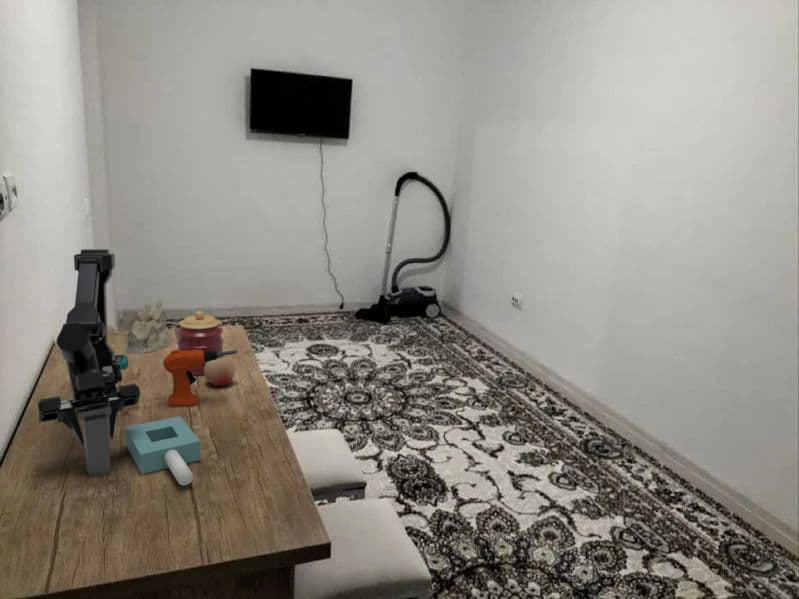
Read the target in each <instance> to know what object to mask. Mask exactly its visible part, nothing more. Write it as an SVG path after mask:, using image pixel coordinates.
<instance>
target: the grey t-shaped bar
mask: <svg viewBox="0 0 799 599" xmlns="http://www.w3.org/2000/svg"><path fill="white" fill-rule="evenodd" d="M108 415H111V406H110V404H107V405H102V406H96V407H91V408H88V407H84V408H79V409H76V416H77V419H78V421H82V431H83V432H82V435H83V441H84V444H83V446H84V457H85V458H84V459H85V468H86V471H87V473H88V476H89V477H93V476H94V477H95V476H98V475H102V474H106V473H111V472H112V467H111V452H110V451H111V450H110V440H109V437H110V434H109V426H108Z"/></svg>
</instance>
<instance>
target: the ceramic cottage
mask: <svg viewBox="0 0 799 599" xmlns="http://www.w3.org/2000/svg"><path fill="white" fill-rule="evenodd" d="M143 309H144V310H141V311H139V312H136V313H135V315H134V316H133V319H131V321H130V322H129V323H128V328H129V330H128V334H127V335H126V338H127V339H126V341H125V343H124V344H125V345H124V347H123V350H124V352H126V351H127V352H126V353H131V354H134V353H137V354H136V355H142V354H141V353H143V354H145V352H146V353H151V351H152V352H155V350H157V351H160V350H163V349H164V348H167V347H168V346H170V345H171V344H170V343H171V339H170V336H169V328H168V326H167V319H168V315H167V313H166V312H165V310H164V308H163V300H161V299H158V300H157V302H156V303H155V306H153V305H152V304H151V303H149V302H147V303H146V302H145V304H144V308H143ZM169 344H170V345H169ZM167 345H168V346H167ZM166 346H167V347H166ZM162 348H163V349H162ZM159 349H160V350H159Z"/></svg>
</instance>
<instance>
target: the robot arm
mask: <svg viewBox="0 0 799 599" xmlns="http://www.w3.org/2000/svg"><path fill="white" fill-rule="evenodd" d="M73 262H74V263H73V266H74V271H77V273H78V274H77V283H76V291H75V301H74V306H73V308H72V309H71V310H69V311H68V313H67V314H66V320H65V323H63V325H62V327H61V329H60V332H59V334H58V335H57V337H56V343H57V346H58V349H59V351H60V352H61V354H62V357H63V359H64V360H65V361H66V365H67V371H68V377H69V382H70V387H71V388H70V389H71V392H72V393H71V394H72V398H73V399H68V400H67V399H66V400H62V399H61V397H60V396H58V395H57V396H52V397H45V398H42V399H39V401H38V402H37V410H36V411H37V419H38V422H39V423H45V422H50V421H56V420H57V423H60V424H61V423H63V424H64V425H65V426H66V427H67V428H68V429H69V430H70V431H71V432H72V433H73V435H74V437H75V438H76V440H77V441H78V442H79V444H80V445H81V446H84V435H83V432H82V429H81V426H80V423H79V420H78V418H77V410H79V409H85V408H91V407H96V406H102V405H107V404H110V406H111V415H107V421H108V435H109V437H110V439H111V440H113V439H114V434H115V427H116V419H117V414H118V413H119V412H122V411H123V409H124V408H126V407H127V408H128V407H132V406H135V405H137V404H138V402H139V400H140V396H141V390H140V387H139V385H137V384H136V383H131V384H124V385H119V386H117V384H119V383H120V382H122V381H123V375H122V374H123V373H122V369H121V368H120V365H119V364H118V361H117V360H115V355H116V354H115V351H114V349H112V348H111V346H110V345H109V343H108V342H109V341H108V317H107V312H108V310H107V284H108V282H109V280H110V279H111V278H112V276H113V270H114V269H115V265H116V259H115V254H114V253H110V250H109V249H108V248H107V249H106V248H105V249H104V248H103V249H102V248H101V249H100V248H98V249H89V248H88V249H86V248H85V249H82V248H81V250H80V253H75V254H74V255H73Z"/></svg>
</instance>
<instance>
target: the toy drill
mask: <svg viewBox="0 0 799 599" xmlns="http://www.w3.org/2000/svg"><path fill="white" fill-rule="evenodd" d="M237 352H238V351H237V349H236V350H235V349H234V350H228V351H223V352H219V353H217V351H201V350H192V351H187V350H185V351H179V350H178V349H173V350H172V351H170V352H169V353H168V354H167V355H166V356H165V357H164V359H163V364H162V365H163V367H164V369H165V370H166V371H167V372H168V373H170V374H171V376H172V380H173V388H172V389H173V390H172V394H171V395H168V399H167V404H168V406H170V407H173V408H174V407H175V408H176V407H177V408H178V407H179V408H180V407H181V408H183V407H193V406H196V405H199V403H200V396H199V395H196V394H194V393H193V392H192V390H191V386H192V385H193V384H194V383H195V382H196V381H197V378H195V377H194V375H192V373H191V372H190V371H188V370H190V369H193V368H195V367H197V366H200V365H202V364H204V363H205V362H209V361H211V360H216V359H217V358H218V357H219V356H223V357H224V356H229V355H234V354H237Z"/></svg>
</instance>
